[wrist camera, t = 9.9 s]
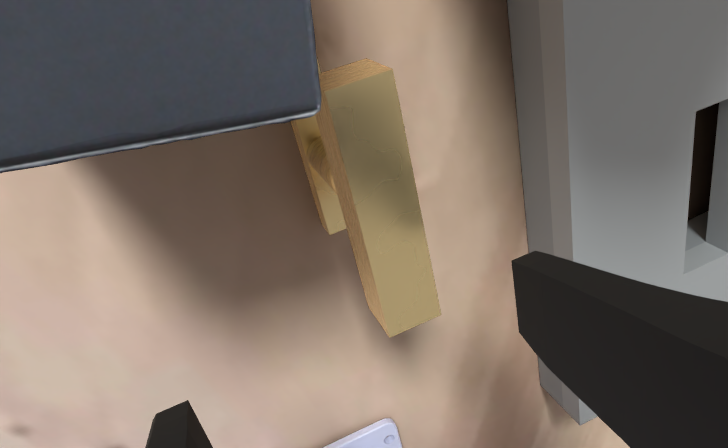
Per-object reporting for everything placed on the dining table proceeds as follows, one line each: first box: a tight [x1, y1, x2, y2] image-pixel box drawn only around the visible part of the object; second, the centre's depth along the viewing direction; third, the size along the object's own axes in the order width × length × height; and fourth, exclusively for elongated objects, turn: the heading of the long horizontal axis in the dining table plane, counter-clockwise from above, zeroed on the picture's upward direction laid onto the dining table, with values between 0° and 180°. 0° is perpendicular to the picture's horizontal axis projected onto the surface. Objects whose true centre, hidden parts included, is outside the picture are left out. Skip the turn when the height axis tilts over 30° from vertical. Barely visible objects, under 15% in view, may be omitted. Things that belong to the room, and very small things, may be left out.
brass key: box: [290, 58, 441, 338], centre depth 17 cm, size 2×7×7 cm, turn 14°
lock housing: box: [507, 0, 728, 425], centre depth 24 cm, size 20×14×3 cm
